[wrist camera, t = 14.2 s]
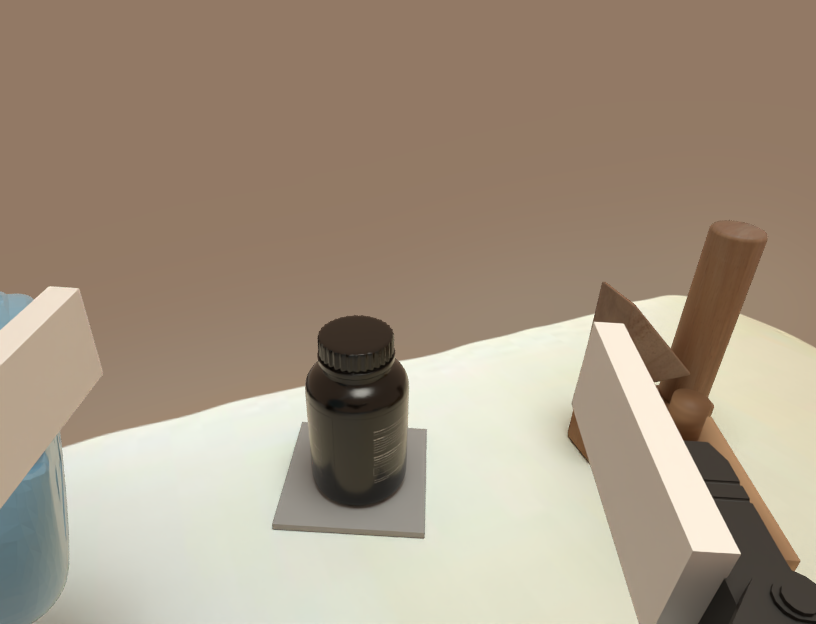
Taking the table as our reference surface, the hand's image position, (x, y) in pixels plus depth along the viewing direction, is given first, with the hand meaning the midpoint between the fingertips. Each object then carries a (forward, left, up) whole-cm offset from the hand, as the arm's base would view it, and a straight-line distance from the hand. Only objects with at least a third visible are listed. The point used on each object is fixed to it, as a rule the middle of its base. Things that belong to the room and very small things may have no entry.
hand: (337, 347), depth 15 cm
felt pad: (-2, +18, -24) cm, 30 cm away
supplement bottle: (-2, +18, -23) cm, 29 cm away
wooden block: (+20, +24, -24) cm, 39 cm away
